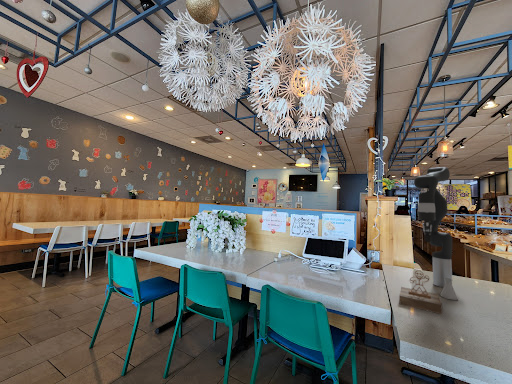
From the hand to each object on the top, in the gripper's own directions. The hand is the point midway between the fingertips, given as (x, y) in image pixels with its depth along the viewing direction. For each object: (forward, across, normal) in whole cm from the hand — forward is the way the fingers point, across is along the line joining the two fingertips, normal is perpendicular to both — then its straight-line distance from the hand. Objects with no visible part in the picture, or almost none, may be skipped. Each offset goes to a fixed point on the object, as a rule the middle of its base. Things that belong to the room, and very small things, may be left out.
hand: (427, 240), depth 120 cm
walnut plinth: (+30, +13, -4) cm, 33 cm away
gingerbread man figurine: (+26, +13, -4) cm, 30 cm away
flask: (+30, -7, +9) cm, 32 cm away
